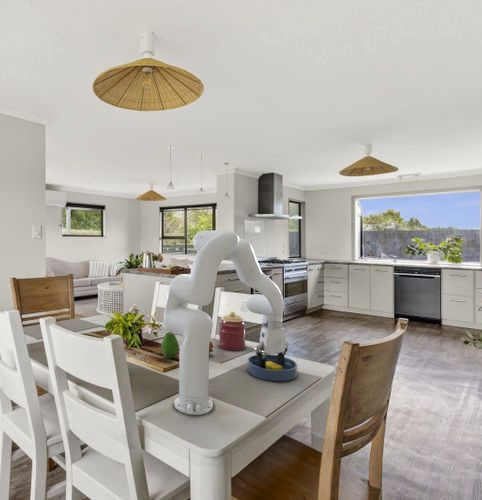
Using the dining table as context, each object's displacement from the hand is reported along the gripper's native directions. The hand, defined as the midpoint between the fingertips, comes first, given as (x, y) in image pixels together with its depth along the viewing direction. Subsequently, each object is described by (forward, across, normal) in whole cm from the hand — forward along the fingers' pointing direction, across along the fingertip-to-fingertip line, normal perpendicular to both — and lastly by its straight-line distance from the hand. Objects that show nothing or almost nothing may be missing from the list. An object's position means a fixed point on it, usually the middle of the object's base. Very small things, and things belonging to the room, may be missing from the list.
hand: (271, 365), depth 146 cm
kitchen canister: (+3, +6, +35) cm, 35 cm away
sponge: (+2, 0, 0) cm, 2 cm away
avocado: (+3, -30, +32) cm, 44 cm away
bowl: (+3, 0, 0) cm, 3 cm away
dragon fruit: (+3, -14, +29) cm, 33 cm away
